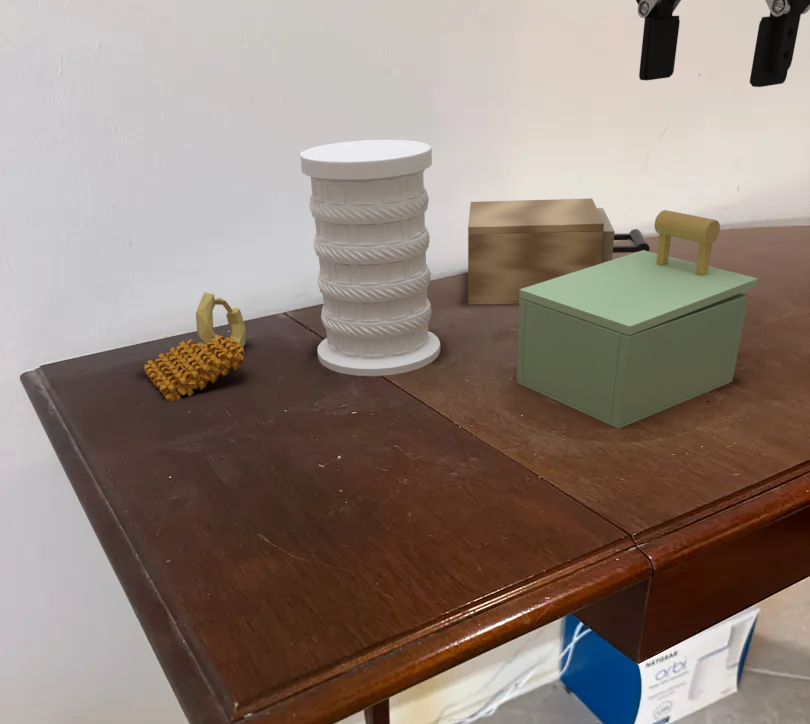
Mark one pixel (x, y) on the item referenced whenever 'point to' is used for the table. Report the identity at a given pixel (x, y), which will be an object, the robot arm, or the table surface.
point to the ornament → (200, 354)
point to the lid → (645, 282)
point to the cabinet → (528, 245)
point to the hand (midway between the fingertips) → (708, 81)
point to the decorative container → (372, 255)
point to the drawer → (609, 237)
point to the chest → (628, 359)
